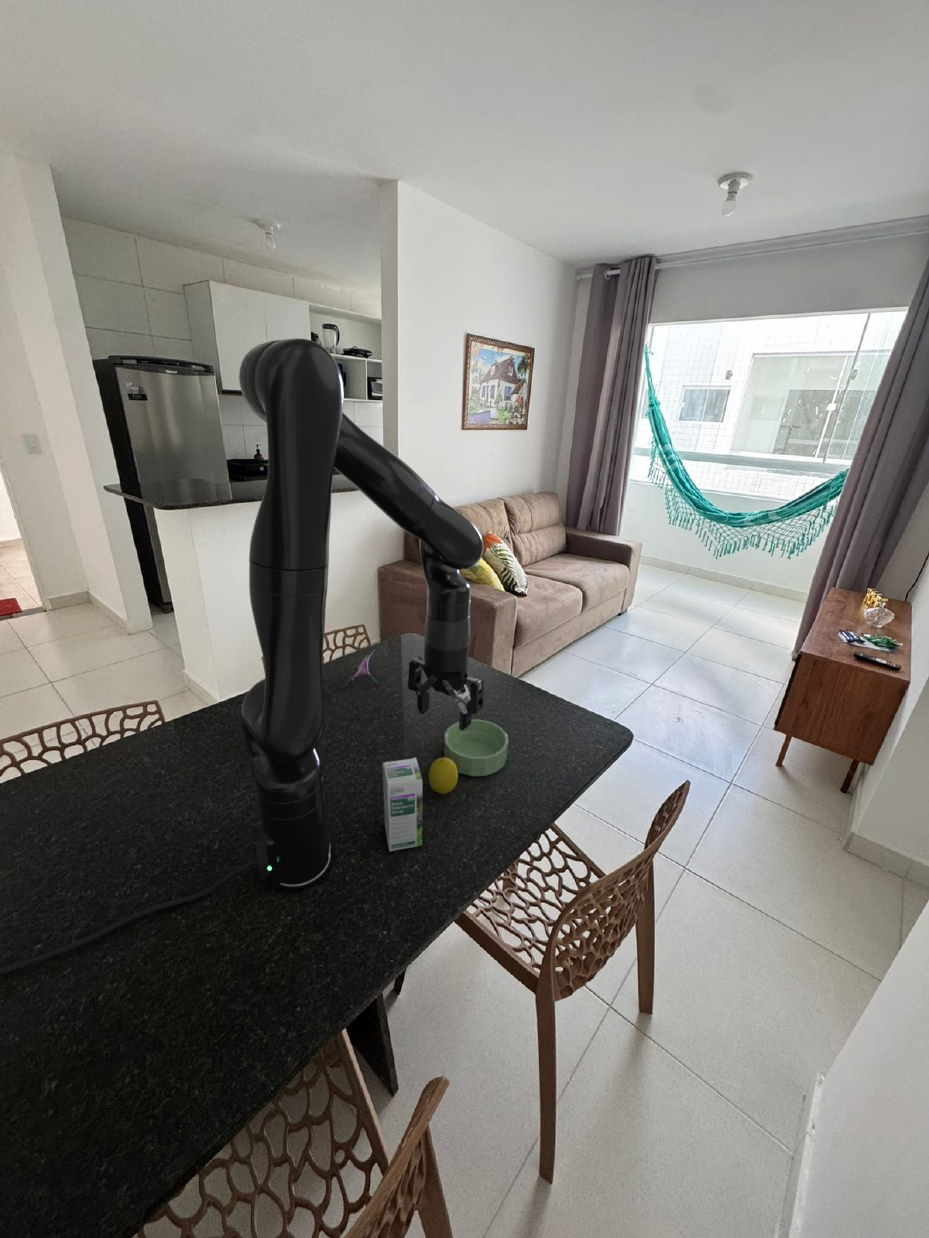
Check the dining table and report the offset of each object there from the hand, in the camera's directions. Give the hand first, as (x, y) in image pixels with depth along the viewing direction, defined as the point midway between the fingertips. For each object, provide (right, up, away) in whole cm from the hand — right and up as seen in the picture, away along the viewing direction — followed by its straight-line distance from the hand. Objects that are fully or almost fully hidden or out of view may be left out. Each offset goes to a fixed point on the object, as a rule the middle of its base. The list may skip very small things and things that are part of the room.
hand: (443, 719), depth 92 cm
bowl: (+6, -11, +17) cm, 21 cm away
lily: (-23, +1, +42) cm, 48 cm away
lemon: (0, -15, +7) cm, 17 cm away
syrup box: (-7, -20, -3) cm, 21 cm away
